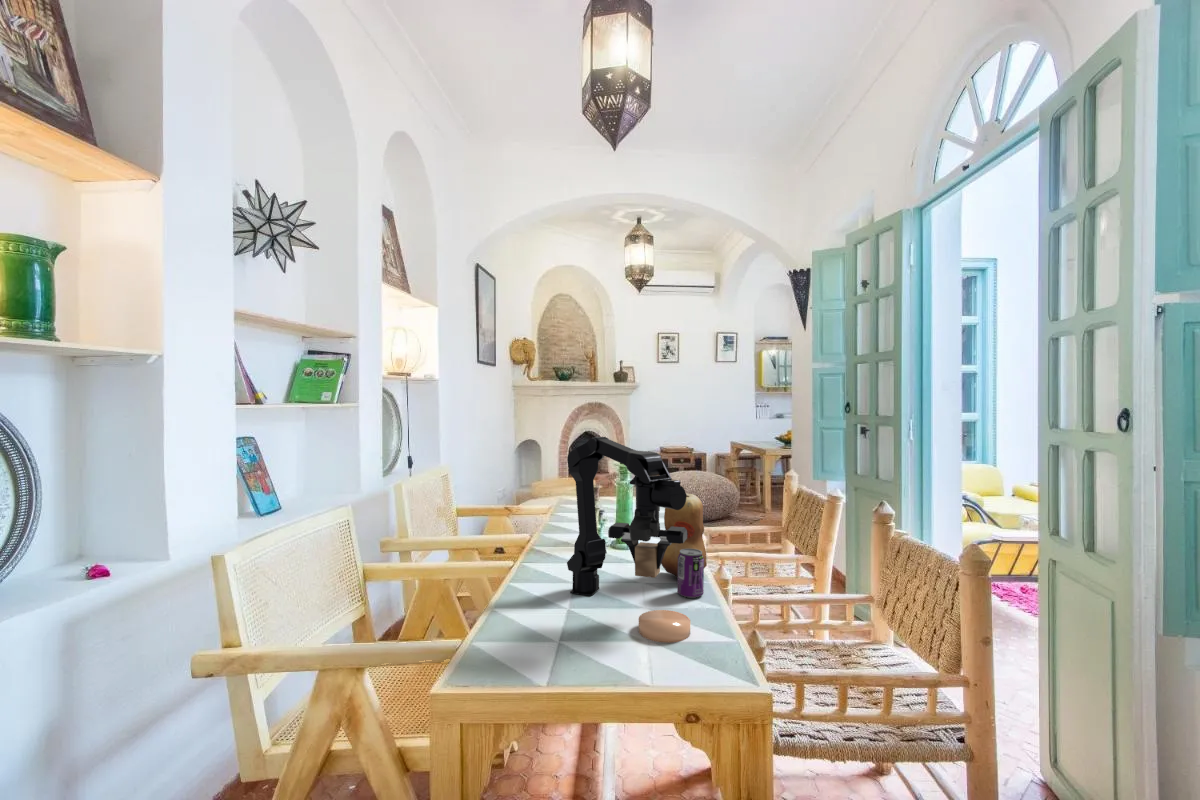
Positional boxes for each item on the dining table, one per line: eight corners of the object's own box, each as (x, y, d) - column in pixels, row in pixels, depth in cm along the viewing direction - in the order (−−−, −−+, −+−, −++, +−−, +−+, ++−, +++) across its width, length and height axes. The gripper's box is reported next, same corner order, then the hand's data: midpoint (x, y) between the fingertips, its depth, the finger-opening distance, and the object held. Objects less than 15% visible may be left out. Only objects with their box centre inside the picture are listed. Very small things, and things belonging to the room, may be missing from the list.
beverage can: (703, 600, 154) (703, 556, 154) (676, 598, 156) (676, 554, 155) (703, 591, 161) (704, 548, 161) (678, 589, 163) (678, 547, 162)
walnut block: (635, 575, 140) (634, 546, 140) (640, 569, 145) (640, 542, 145) (655, 577, 139) (654, 548, 139) (659, 571, 143) (659, 543, 143)
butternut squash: (658, 583, 168) (659, 497, 167) (660, 569, 181) (661, 489, 181) (707, 586, 166) (708, 499, 165) (705, 571, 179) (706, 491, 178)
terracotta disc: (632, 638, 131) (632, 625, 131) (646, 619, 142) (646, 607, 142) (684, 647, 127) (684, 633, 127) (694, 626, 138) (694, 614, 138)
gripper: (600, 507, 137) (600, 573, 137) (678, 512, 131) (678, 581, 131) (615, 500, 148) (615, 560, 148) (687, 504, 141) (687, 567, 141)
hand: (647, 567), depth 142 cm, fingers closed on walnut block, 5 cm apart
